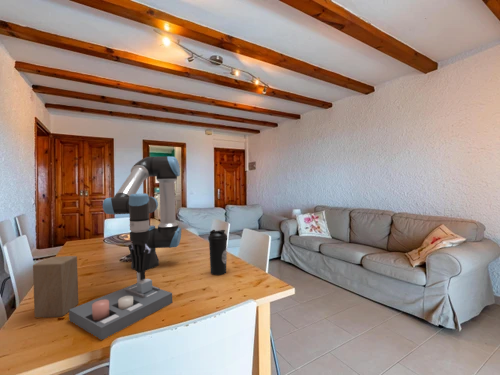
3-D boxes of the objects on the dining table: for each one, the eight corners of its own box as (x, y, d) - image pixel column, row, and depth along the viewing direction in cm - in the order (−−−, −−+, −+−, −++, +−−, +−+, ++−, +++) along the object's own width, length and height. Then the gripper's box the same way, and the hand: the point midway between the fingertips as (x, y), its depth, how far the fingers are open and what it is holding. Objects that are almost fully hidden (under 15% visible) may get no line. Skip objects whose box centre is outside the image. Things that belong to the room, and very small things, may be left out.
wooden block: (53, 305, 101) (51, 256, 101) (79, 303, 102) (77, 255, 101) (34, 318, 91) (32, 264, 91) (62, 316, 92) (61, 263, 91)
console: (69, 320, 89) (68, 306, 89) (139, 290, 113) (139, 280, 113) (101, 340, 78) (101, 324, 78) (172, 302, 102) (172, 290, 101)
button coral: (89, 318, 84) (89, 304, 84) (104, 312, 89) (104, 298, 89) (97, 322, 82) (96, 308, 82) (112, 315, 86) (112, 301, 86)
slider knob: (137, 292, 102) (136, 282, 101) (147, 288, 106) (147, 278, 106) (141, 294, 100) (141, 283, 100) (152, 289, 104) (152, 279, 104)
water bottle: (224, 276, 129) (223, 232, 128) (206, 275, 131) (205, 232, 130) (230, 269, 139) (229, 228, 138) (212, 268, 141) (212, 228, 140)
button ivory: (115, 313, 92) (115, 299, 92) (128, 307, 96) (128, 294, 96) (123, 316, 90) (123, 303, 89) (136, 310, 94) (135, 297, 94)
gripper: (122, 230, 104) (123, 286, 104) (141, 233, 97) (142, 293, 97) (138, 227, 110) (139, 280, 110) (157, 230, 103) (158, 286, 104)
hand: (141, 286), depth 104 cm, fingers closed
